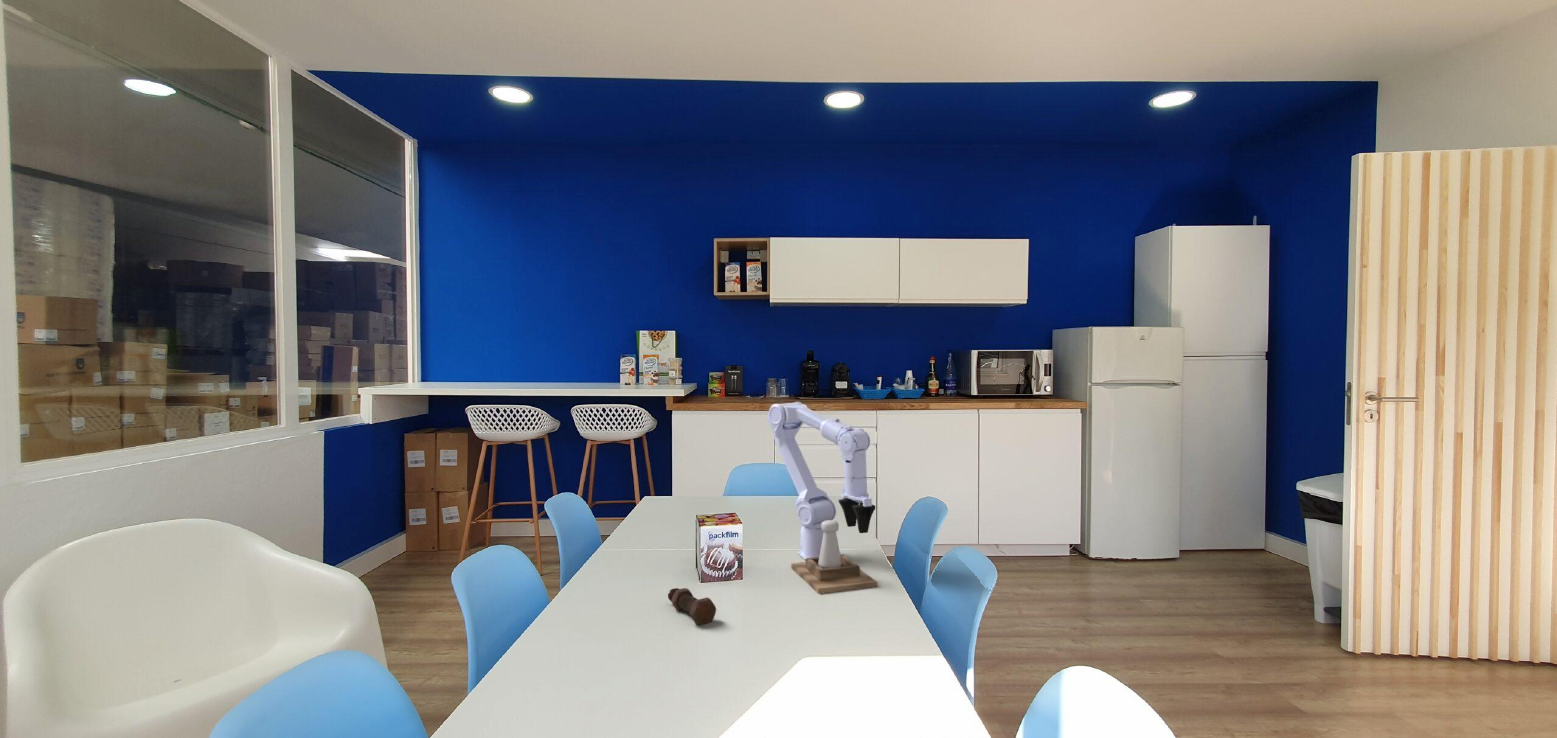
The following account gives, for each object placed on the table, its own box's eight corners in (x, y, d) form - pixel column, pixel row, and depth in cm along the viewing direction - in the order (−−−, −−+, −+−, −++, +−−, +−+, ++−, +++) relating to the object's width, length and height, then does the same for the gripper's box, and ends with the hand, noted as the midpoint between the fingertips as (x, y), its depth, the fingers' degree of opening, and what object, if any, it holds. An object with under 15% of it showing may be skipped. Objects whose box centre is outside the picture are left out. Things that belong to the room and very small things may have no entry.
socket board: (791, 567, 179) (791, 553, 179) (844, 562, 184) (844, 548, 183) (818, 593, 160) (818, 578, 160) (876, 586, 164) (876, 571, 164)
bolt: (677, 610, 156) (708, 630, 144) (659, 603, 154) (689, 622, 141) (688, 585, 158) (720, 602, 145) (670, 578, 155) (701, 595, 143)
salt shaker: (814, 574, 170) (814, 522, 170) (823, 567, 175) (823, 517, 175) (836, 577, 167) (836, 525, 167) (845, 570, 173) (844, 519, 172)
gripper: (830, 474, 183) (832, 525, 183) (852, 482, 169) (854, 537, 169) (855, 472, 185) (856, 522, 185) (878, 479, 171) (880, 534, 171)
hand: (857, 529), depth 177 cm, fingers open, 7 cm apart
